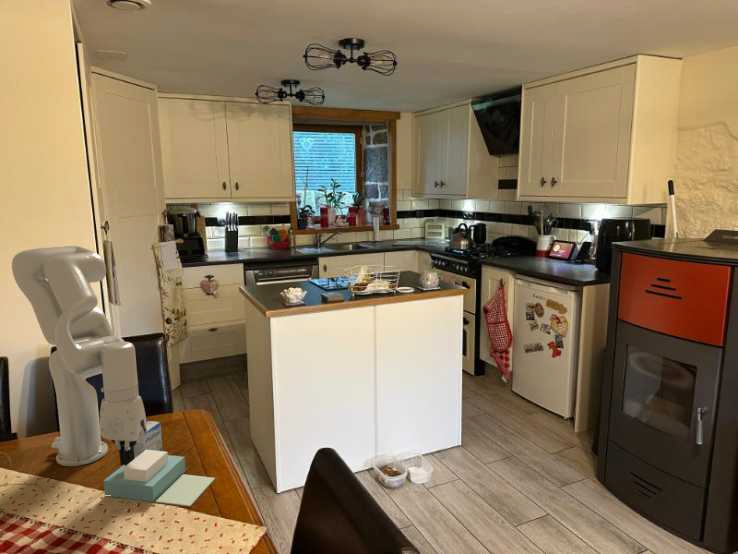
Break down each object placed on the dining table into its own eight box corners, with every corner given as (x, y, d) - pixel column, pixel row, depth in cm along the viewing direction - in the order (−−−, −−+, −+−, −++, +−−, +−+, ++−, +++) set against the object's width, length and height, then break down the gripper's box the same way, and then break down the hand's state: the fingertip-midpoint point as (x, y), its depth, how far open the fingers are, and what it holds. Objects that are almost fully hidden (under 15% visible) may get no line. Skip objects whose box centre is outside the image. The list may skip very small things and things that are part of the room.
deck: (104, 495, 123) (103, 480, 123) (141, 466, 137) (140, 452, 136) (153, 502, 121) (152, 486, 120) (185, 471, 135) (184, 456, 134)
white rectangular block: (124, 479, 123) (123, 467, 123) (147, 460, 132) (146, 449, 132) (146, 481, 122) (145, 470, 122) (168, 462, 131) (167, 451, 130)
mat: (155, 502, 121) (155, 501, 121) (183, 475, 132) (182, 474, 132) (190, 506, 119) (190, 505, 119) (215, 478, 131) (215, 477, 131)
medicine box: (145, 464, 138) (143, 434, 136) (131, 462, 139) (128, 432, 137) (163, 450, 145) (161, 421, 144) (149, 448, 146) (146, 420, 145)
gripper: (83, 396, 123) (90, 467, 126) (139, 400, 120) (145, 473, 123) (105, 385, 130) (111, 452, 133) (158, 389, 127) (163, 458, 130)
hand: (127, 462), depth 128 cm, fingers closed
